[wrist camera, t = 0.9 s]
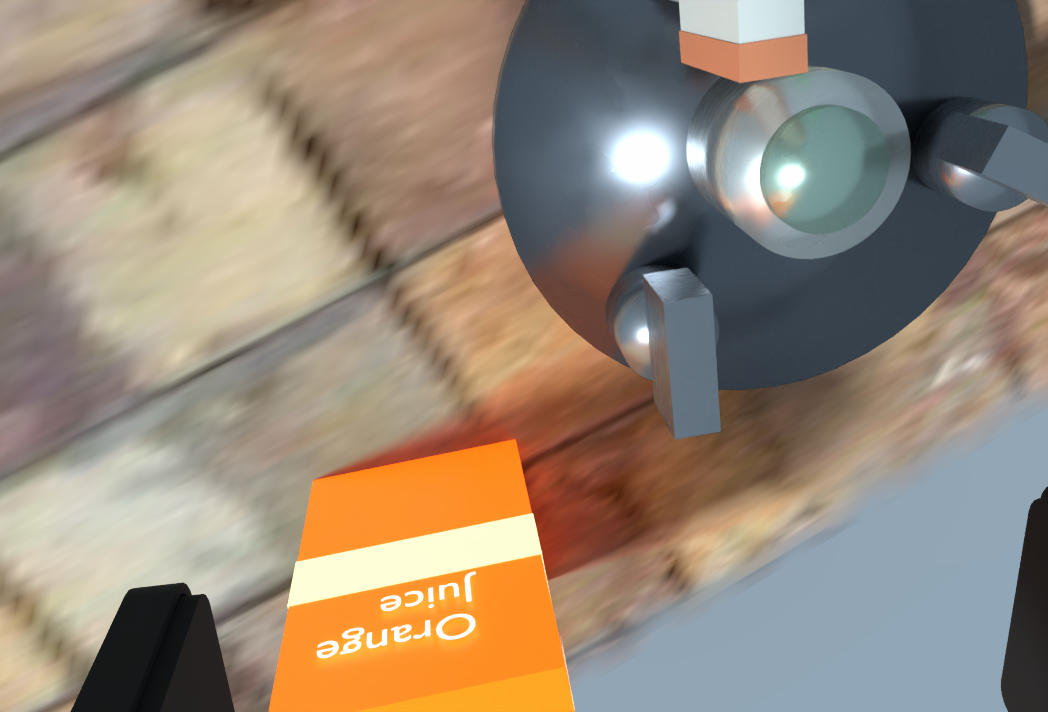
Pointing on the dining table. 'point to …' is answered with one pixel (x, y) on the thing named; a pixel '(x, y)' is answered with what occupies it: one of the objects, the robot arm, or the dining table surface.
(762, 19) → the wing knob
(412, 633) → the orange juice
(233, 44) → the dining table surface
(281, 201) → the dining table surface
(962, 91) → the tribrach base
